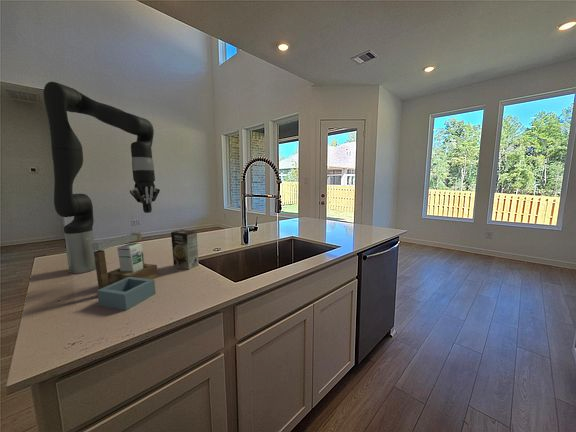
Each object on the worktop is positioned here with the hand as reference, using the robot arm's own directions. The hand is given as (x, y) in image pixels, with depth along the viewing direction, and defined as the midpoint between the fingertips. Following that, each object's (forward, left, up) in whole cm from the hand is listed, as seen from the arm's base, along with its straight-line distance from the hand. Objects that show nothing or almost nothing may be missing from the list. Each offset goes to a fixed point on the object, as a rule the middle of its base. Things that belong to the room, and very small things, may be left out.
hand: (147, 212), depth 99 cm
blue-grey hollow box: (+11, -22, -26) cm, 35 cm away
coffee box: (+9, +9, -26) cm, 29 cm away
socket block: (0, -13, -26) cm, 29 cm away
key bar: (0, -14, -10) cm, 17 cm away
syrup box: (0, -10, -26) cm, 27 cm away
